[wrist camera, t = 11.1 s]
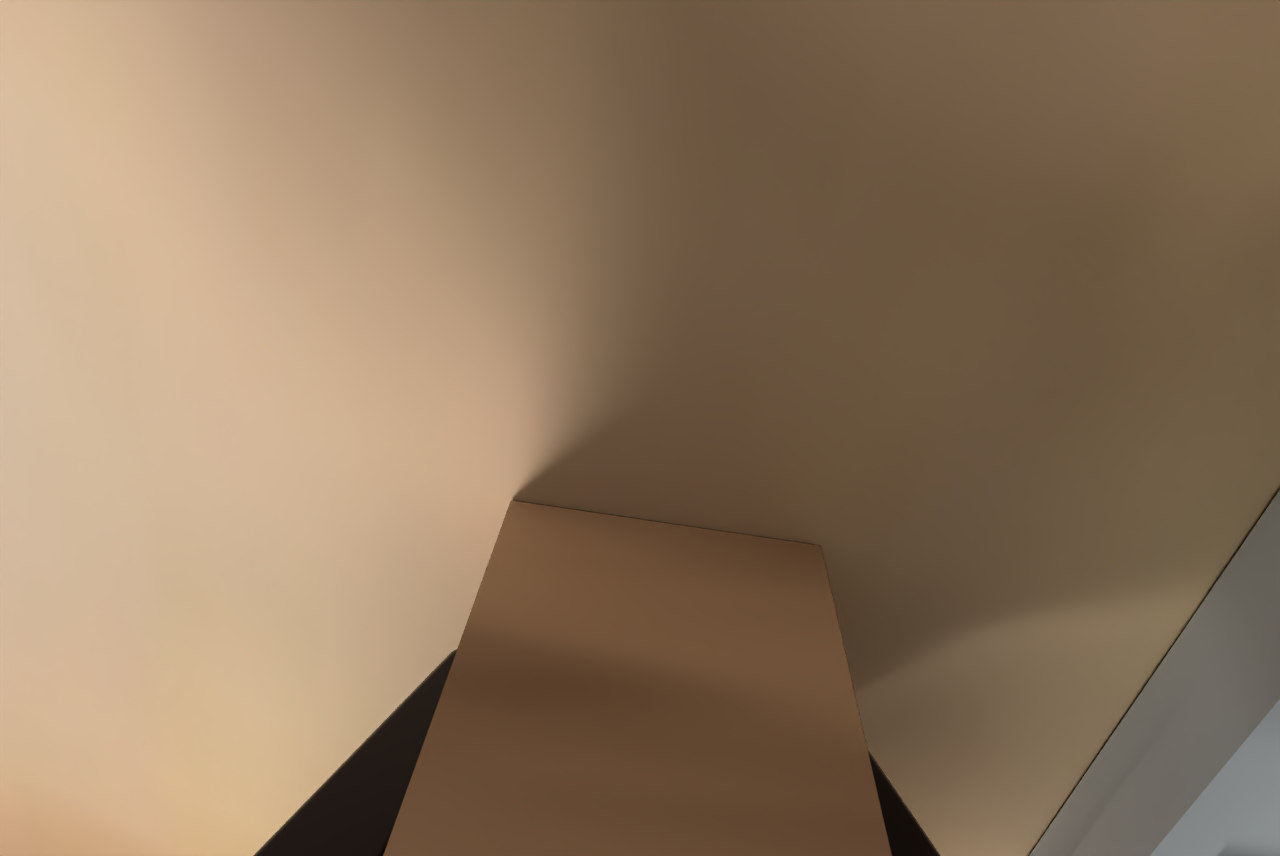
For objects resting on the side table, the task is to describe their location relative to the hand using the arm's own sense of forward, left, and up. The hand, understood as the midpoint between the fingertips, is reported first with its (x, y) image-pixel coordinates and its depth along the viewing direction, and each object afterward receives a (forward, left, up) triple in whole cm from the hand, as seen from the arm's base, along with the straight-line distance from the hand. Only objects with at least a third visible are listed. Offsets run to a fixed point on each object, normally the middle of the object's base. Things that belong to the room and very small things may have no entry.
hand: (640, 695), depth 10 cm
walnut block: (0, 0, -1) cm, 1 cm away
